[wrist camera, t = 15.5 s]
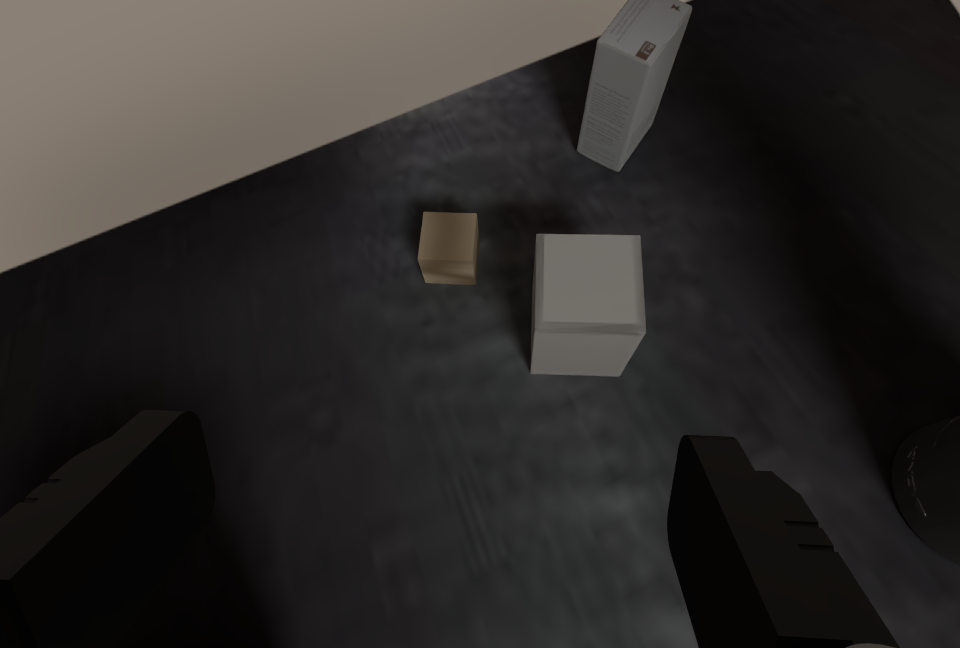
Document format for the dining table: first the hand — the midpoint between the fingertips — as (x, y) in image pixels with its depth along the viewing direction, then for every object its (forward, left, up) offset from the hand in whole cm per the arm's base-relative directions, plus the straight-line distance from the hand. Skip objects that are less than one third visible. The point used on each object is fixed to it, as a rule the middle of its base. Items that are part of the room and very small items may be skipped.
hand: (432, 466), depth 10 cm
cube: (+6, -20, -31) cm, 37 cm away
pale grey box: (-4, -15, -31) cm, 34 cm away
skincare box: (-6, -33, -31) cm, 45 cm away
